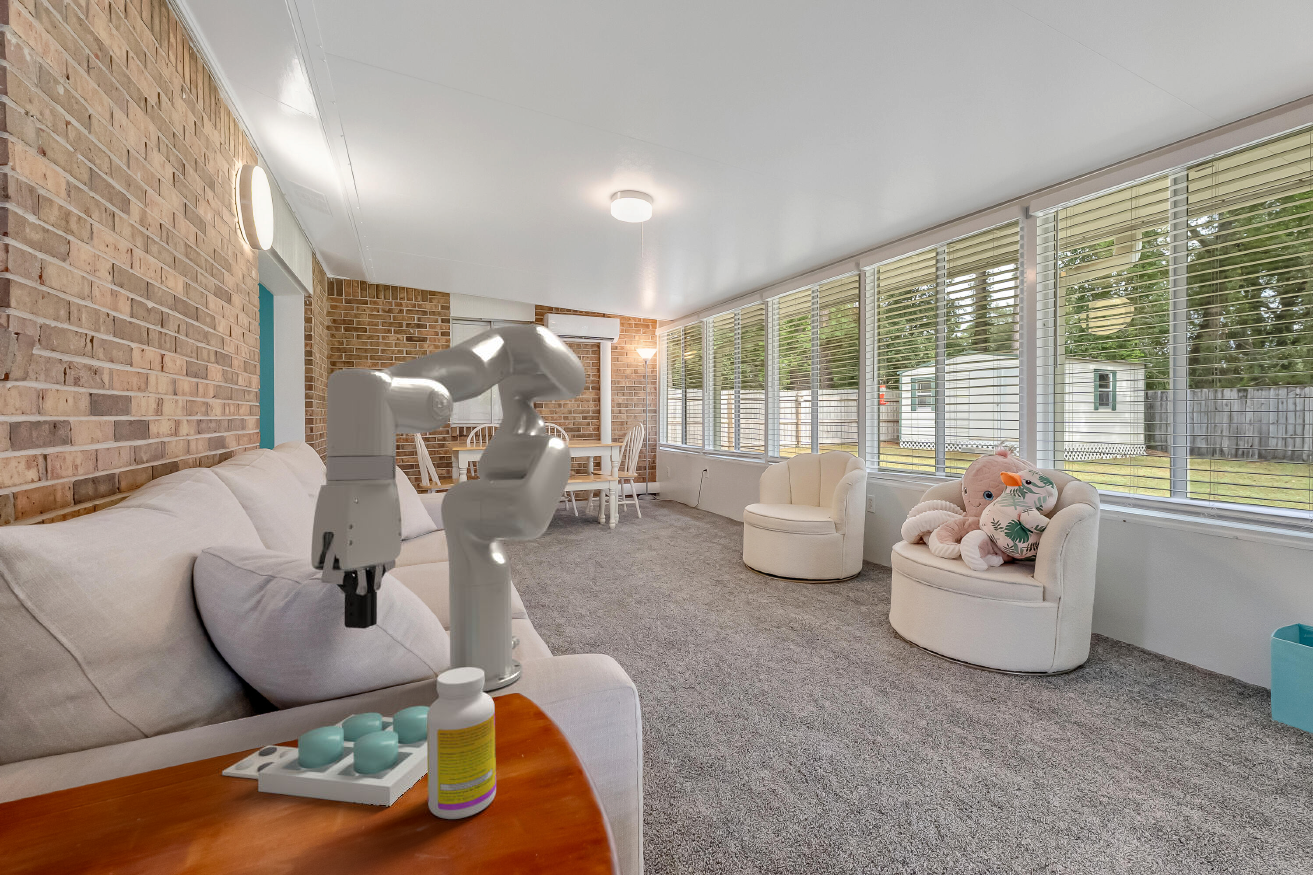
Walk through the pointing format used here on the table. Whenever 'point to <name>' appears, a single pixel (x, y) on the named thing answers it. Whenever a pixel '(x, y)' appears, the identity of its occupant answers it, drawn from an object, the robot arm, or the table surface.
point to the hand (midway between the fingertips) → (360, 625)
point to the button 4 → (411, 724)
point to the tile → (257, 762)
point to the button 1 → (320, 747)
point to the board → (347, 775)
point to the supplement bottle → (461, 745)
